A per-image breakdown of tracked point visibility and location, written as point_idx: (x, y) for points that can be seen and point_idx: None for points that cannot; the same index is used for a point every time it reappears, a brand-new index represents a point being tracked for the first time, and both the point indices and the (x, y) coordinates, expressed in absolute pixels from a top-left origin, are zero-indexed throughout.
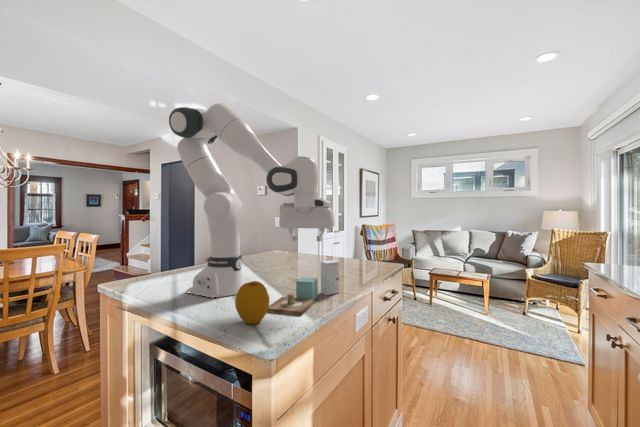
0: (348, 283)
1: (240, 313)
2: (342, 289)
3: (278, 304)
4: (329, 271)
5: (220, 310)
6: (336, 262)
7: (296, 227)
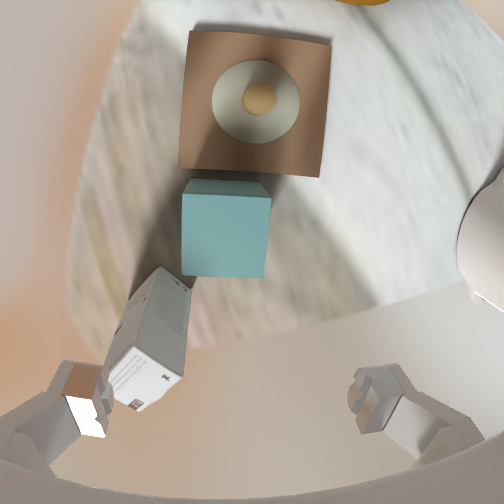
0: None
1: None
2: None
3: (302, 85)
4: (132, 328)
5: (454, 64)
6: None
7: (410, 476)
